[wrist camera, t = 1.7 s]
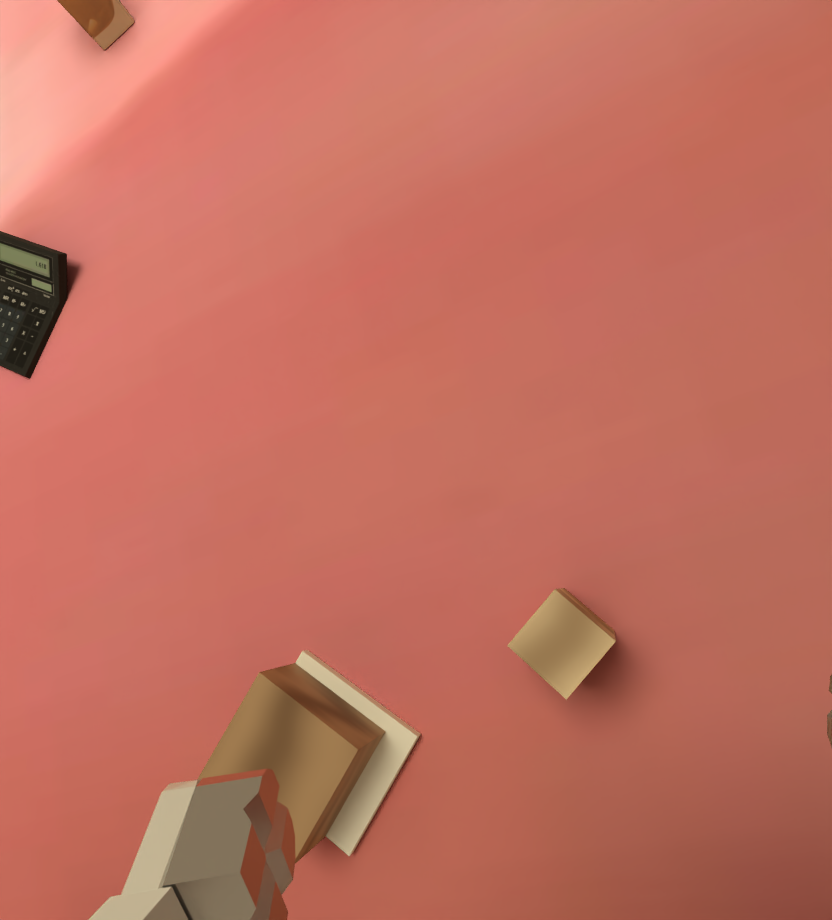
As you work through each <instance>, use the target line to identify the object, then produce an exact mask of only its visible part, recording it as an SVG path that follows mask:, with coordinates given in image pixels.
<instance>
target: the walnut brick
mask: <svg viewBox="0 0 832 920" xmlns="http://www.w3.org/2000/svg"><path fill="white" fill-rule="evenodd" d="M385 732H386V731H384V730H383V729H382V728H380V727H379V726H378V725H376V724H375V723H374V722H373V721H371V720H370V719H369V718H367V717H366V716H365V715H363V714H362V713H361V712H359V711H358V710H357V709H355V708H354V707H353V706H351V705H350V704H349V703H347V702H346V701H345V700H343V699H342V698H341V697H339V696H338V695H337V694H335V693H334V692H333V691H332V690H330V689H329V688H328V687H326V686H325V685H324V684H322V683H321V682H320V681H318V680H317V679H316V678H314V677H313V676H312V675H310V674H309V673H308V672H306V671H305V670H304V669H302V668H301V667H300V666H298V665H297V664H296V663H294V664H290V665H286V666H282V667H278V668H274V669H271V670H267V671H263V672H259V674H258V676H257V677H256V679H255V681H254V682H253V684H252V686H251V688H250V689H249V691H248V693H247V695H246V696H245V698H244V700H243V702H242V703H241V705H240V707H239V708H238V710H237V712H236V714H235V715H234V717H233V719H232V721H231V722H230V724H229V726H228V728H227V729H226V731H225V733H224V734H223V736H222V738H221V740H220V741H219V743H218V745H217V747H216V748H215V750H214V752H213V753H212V755H211V757H210V759H209V760H208V762H207V764H206V766H205V767H204V769H203V771H202V773H201V774H200V776H199V778H198V779H202V778H207V777H214V776H220V775H227V774H234V773H241V772H248V771H254V770H261V769H271V770H273V772H274V774H275V776H276V779H277V781H278V783H279V786H280V787H279V792H278V798H277V801H278V802H279V803H281V804H283V805H284V806H286V807H287V808H288V810H289V813H290V815H291V818H292V822H293V827H294V833H295V856H296V859H295V863H296V862H298V861H299V860H300V859H301V858H302V857H303V856H304V855H305V854H306V853H308V852H309V851H310V850H311V849H312V848H313V847H314V846H315V845H316V844H318V843H319V842H320V841H321V840H322V839H323V838H324V837H325V836H326V835H327V833H328V831H329V830H330V828H331V826H332V824H333V823H334V821H335V819H336V817H337V816H338V814H339V812H340V810H341V809H342V807H343V805H344V803H345V802H346V800H347V798H348V796H349V795H350V793H351V791H352V789H353V788H354V786H355V784H356V782H357V781H358V779H359V777H360V775H361V774H362V772H363V770H364V768H365V767H366V765H367V763H368V761H369V760H370V758H371V756H372V754H373V753H374V751H375V749H376V747H377V746H378V744H379V742H380V740H381V739H382V737H383V735H384V733H385ZM198 779H197V780H198Z"/></svg>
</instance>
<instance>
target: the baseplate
mask: <svg viewBox="0 0 832 920" xmlns="http://www.w3.org/2000/svg"><path fill="white" fill-rule="evenodd" d="M296 664H297V665H298V666H300V667H301V668H302V669H304V670H305V671H306V672H308V673H309V674H310V675H312V676H313V677H314V678H316V679H317V680H318V681H320V682H321V683H322V684H324V685H325V686H326V687H328V688H329V689H330V690H332V691H333V692H334V693H335V694H337V695H338V696H339V697H341V698H342V699H343V700H345V701H346V702H347V703H349V704H350V705H351V706H353V707H354V708H355V709H357V710H358V711H359V712H361V713H362V714H363V715H365V716H366V717H367V718H369V719H370V720H371V721H373V722H374V723H375V724H376V725H378V726H379V727H380V728H382V729H383V730H384V731H386V732H385V733H384V735H383V737H382V739H381V740H380V742H379V744H378V746H377V747H376V749H375V751H374V753H373V754H372V756H371V758H370V760H369V761H368V763H367V765H366V767H365V768H364V770H363V772H362V774H361V775H360V777H359V779H358V781H357V782H356V784H355V786H354V788H353V789H352V791H351V793H350V795H349V796H348V798H347V800H346V802H345V803H344V805H343V807H342V809H341V810H340V812H339V814H338V816H337V817H336V819H335V821H334V823H333V824H332V826H331V828H330V830H329V831H328V833H327V835H326V837H327V838H328V839H330V840H331V841H332V842H333V843H334V844H335V845H337V846H338V847H339V848H340V849H341V850H342V851H344V852H345V853H346V854H347V855H348V856H350V855H351V854H352V853H353V852H354V850H355V848H356V847H357V845H358V843H359V841H360V840H361V838H362V836H363V834H364V833H365V831H366V829H367V827H368V826H369V824H370V822H371V820H372V819H373V817H374V815H375V813H376V812H377V810H378V808H379V806H380V805H381V803H382V801H383V799H384V798H385V796H386V794H387V792H388V791H389V789H390V787H391V785H392V784H393V782H394V780H395V778H396V777H397V775H398V773H399V771H400V770H401V768H402V766H403V764H404V763H405V761H406V759H407V757H408V756H409V754H410V752H411V750H412V749H413V747H414V745H415V743H416V742H417V740H418V738H419V736H420V735H421V734H420V733H419V732H418V731H416V730H415V729H414V728H412V727H411V726H410V725H408V724H407V723H406V722H404V721H403V720H401V719H400V718H399V717H397V716H396V715H395V714H393V713H392V712H391V711H389V710H388V709H387V708H385V707H384V706H383V705H381V704H380V703H379V702H377V701H376V700H374V699H373V698H372V697H370V696H369V695H368V694H366V693H365V692H364V691H362V690H361V689H360V688H358V687H357V686H356V685H354V684H353V683H352V682H350V681H349V680H347V679H346V678H345V677H343V676H342V675H341V674H339V673H338V672H337V671H335V670H334V669H333V668H331V667H330V666H329V665H327V664H326V663H324V662H323V661H322V660H320V659H319V658H318V657H316V656H315V655H314V654H312V653H311V652H310V651H308V650H304V651H302V652H301V654H300V656H299V658H298V659H297V661H296Z"/></svg>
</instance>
